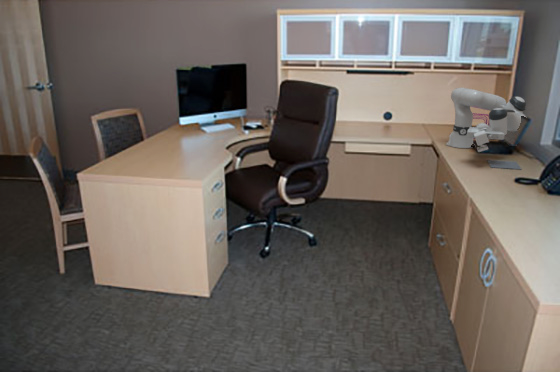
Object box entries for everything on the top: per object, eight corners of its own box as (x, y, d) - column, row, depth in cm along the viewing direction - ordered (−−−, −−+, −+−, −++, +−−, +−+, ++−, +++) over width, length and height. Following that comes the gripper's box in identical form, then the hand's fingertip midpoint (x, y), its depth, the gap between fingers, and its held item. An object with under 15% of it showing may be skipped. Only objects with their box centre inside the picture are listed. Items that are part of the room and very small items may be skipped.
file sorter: (459, 137, 336) (461, 116, 331) (465, 131, 356) (467, 111, 351) (484, 140, 327) (487, 118, 322) (489, 133, 347) (492, 113, 342)
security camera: (491, 148, 256) (485, 132, 254) (478, 152, 258) (473, 136, 256) (489, 145, 261) (484, 129, 259) (477, 149, 264) (471, 134, 262)
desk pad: (487, 160, 274) (487, 159, 274) (516, 162, 270) (516, 161, 269) (490, 167, 260) (490, 166, 259) (521, 169, 255) (521, 169, 255)
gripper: (502, 139, 267) (505, 144, 255) (465, 137, 273) (467, 141, 261) (503, 129, 266) (507, 133, 253) (466, 126, 271) (468, 130, 259)
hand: (486, 137), depth 257 cm, fingers closed on security camera
